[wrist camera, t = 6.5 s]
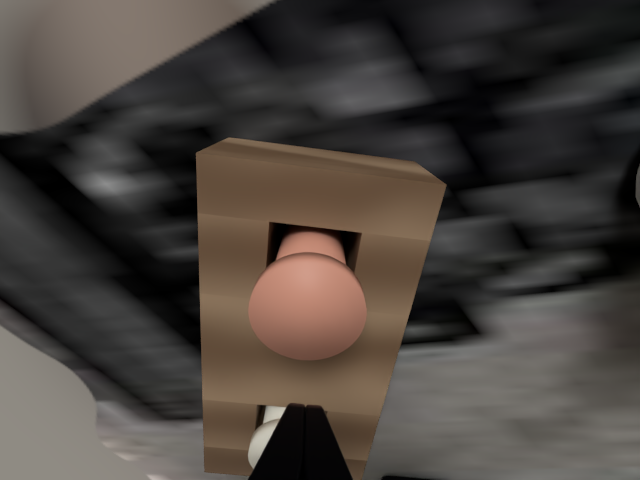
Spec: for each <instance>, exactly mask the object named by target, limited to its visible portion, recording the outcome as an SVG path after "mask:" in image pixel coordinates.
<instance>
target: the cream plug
mask: <svg viewBox="0 0 640 480" xmlns="http://www.w3.org/2000/svg"><path fill="white" fill-rule="evenodd" d="M285 409H286V407H278V406H268V405H266V410H265V415H264V421H263V424H262V425H261V426H259V427H258V428H257V429H256V430H255V431H254V433H253V435H252V437H251V442H250V447H249V452H248V460H249V463H250V465H251V466H252V468H253V469H254V467H255V466H256V464H257V462H258V460H259V458H260V456H261V454H262V452H263V450H264V448H265V447H266V445H267V443H268V441H269V439H270V437H271V435H272V433H273V431H274V430H275V428H276V426H277V424H278V422H279V420H280V418H281V416H282V414H283V412H284V411H285Z"/></svg>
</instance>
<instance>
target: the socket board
mask: <svg viewBox="0 0 640 480" xmlns="http://www.w3.org/2000/svg"><path fill="white" fill-rule="evenodd" d="M196 166H197V204H198V242H199V280H200V318H201V356H202V394H203V431H204V469H205V472H208V473H220V474H232V475H244V476H250V475H251V473H252V471H253V468H252V466H251V465H250V463H249V460H248V452H249V447H250V442H251V437H252V435H253V433H254V431H255V430H256V429H257V428H258V427H259V426H261V425H262V424H263V421H264V415H265V410H266V405H268V406H278V407H287V405H288V404H289V403H299V404H304V405H305V407H306V405H308V404H310V405H320V406H322V407H323V409H324V411H325V413H326V416H327V418H328V420H329V423H330V425H331V428H332V430H333V432H334V435H335V437H336V440H337V442H338V444H339V447H340V449H341V452H342V454H343V456H344V459H345V461H346V464H347V466H348V468H349V471H350V473H351V476H352V478H353V480H362V476H363V473H364V470H365V466H366V463H367V459H368V456H369V452H370V449H371V445H372V442H373V438H374V435H375V431H376V428H377V424H378V421H379V417H380V414H381V411H382V407H383V404H384V400H385V397H386V393H387V390H388V386H389V383H390V379H391V376H392V372H393V369H394V365H395V362H396V358H397V355H398V352H399V348H400V345H401V341H402V338H403V334H404V331H405V327H406V324H407V320H408V317H409V313H410V310H411V306H412V303H413V299H414V296H415V293H416V289H417V286H418V282H419V279H420V275H421V272H422V268H423V265H424V261H425V258H426V254H427V251H428V247H429V244H430V240H431V237H432V234H433V230H434V227H435V223H436V220H437V216H438V213H439V209H440V206H441V202H442V199H443V195H444V192H445V188H446V184H445V183H443V182H442V181H441V180H439V179H438V178H437V177H435V176H434V175H432V174H431V173H430V172H428V171H427V170H425V169H424V168H423V167H421V166H420V165H419V164H417V163H416V162H414V161H406V160H399V159H391V158H383V157H376V156H368V155H360V154H353V153H345V152H337V151H330V150H322V149H314V148H307V147H299V146H291V145H284V144H276V143H268V142H261V141H253V140H245V139H238V138H230V137H229V138H227V139H225V140H223V141H220V142H218V143H216V144H214V145H212V146H210V147H208V148H205V149H203V150H201V151H199V152H197V153H196ZM279 223H285V224H293V225H301V226H310V227H318V228H326V229H335V230H343V231H347V233H346V239H345V244H344V254H345V261H346V266H348V267H349V268H350V269H351V270H352V271H353V272H354V273H355V275H356V276H357V278H358V279H359V281H360V283H361V286H362V289H363V293H364V297H365V302H366V308H367V317H366V323H365V326H364V329H363V331H362V333H361V334H360V336H359V337H358V339H357V340H356V341H355V342H354V343H353V344H352V345H351V346H350V347H349V348H347V349H346V350H344V351H343V352H341V353H339V354H337V355H334V356H332V357H329V358H325V359H320V360H297V359H292V358H288V357H285V356H283V355H280V354H278V353H276V352H274V351H273V350H271V349H270V348H268V347H267V346H266V345H265V344H263V343H262V342H261V341H260V339H259V338H258V337H257V336H256V334H255V333H254V331H253V329H252V327H251V324H250V321H249V315H248V307H249V301H250V298H251V295H252V292H253V289H254V286H255V283H256V281H257V279H258V277H259V276H260V274H261V273H262V272H263V271H264V270H265V268H266V267H268V266H269V265H270V264H271V263H273V262H274V261H276V258H277V254H278V253H277V248H278V236H279Z"/></svg>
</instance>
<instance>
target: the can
mask: <svg viewBox="0 0 640 480" xmlns="http://www.w3.org/2000/svg"><path fill="white" fill-rule="evenodd" d="M636 199H637V201H638V204H639V206H640V165H639V168H638V170H637V176H636Z"/></svg>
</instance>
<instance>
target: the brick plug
mask: <svg viewBox="0 0 640 480" xmlns="http://www.w3.org/2000/svg"><path fill="white" fill-rule="evenodd" d="M248 315H249V321H250V324H251V327H252V329H253V331H254V333H255V334H256V336H257V337H258V338H259V339H260V341H261V342H262V343H263V344H265V345H266V346H267V347H268V348H270V349H271V350H273V351H274V352H276V353H278V354H280V355H283V356H285V357H288V358H292V359H297V360H320V359H325V358H329V357H332V356H334V355H337V354H339V353H341V352H343V351H344V350H346V349H347V348H349V347H350V346H351V345H352V344H353V343H354V342H355V341H356V340H357V339H358V337H359V336H360V334H361V333H362V331H363V329H364V326H365V323H366V317H367V308H366V302H365V297H364V293H363V289H362V286H361V283H360V281H359V279H358V278H357V276H356V275H355V273H354V272H353V271H352V270H351V269H350V268H349V267H348V266H346V261H345V254H344V247H343V240H342V236H341V233H340V231H339V230H335V229H326V228H318V227H310V226H301V225H293V224H290V225H289V226H288V227H287V228H286V230H285V231H284V233H283V236H282V240H281V243H280V247H279V251H278V254H277V258H276V261H274V262H273V263H271V264H270V265H269V266H268V267H266V268H265V270H264V271H263V272H262V273H261V274H260V276H259V277H258V279H257V281H256V283H255V286H254V289H253V292H252V295H251V298H250V301H249V307H248Z"/></svg>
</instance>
